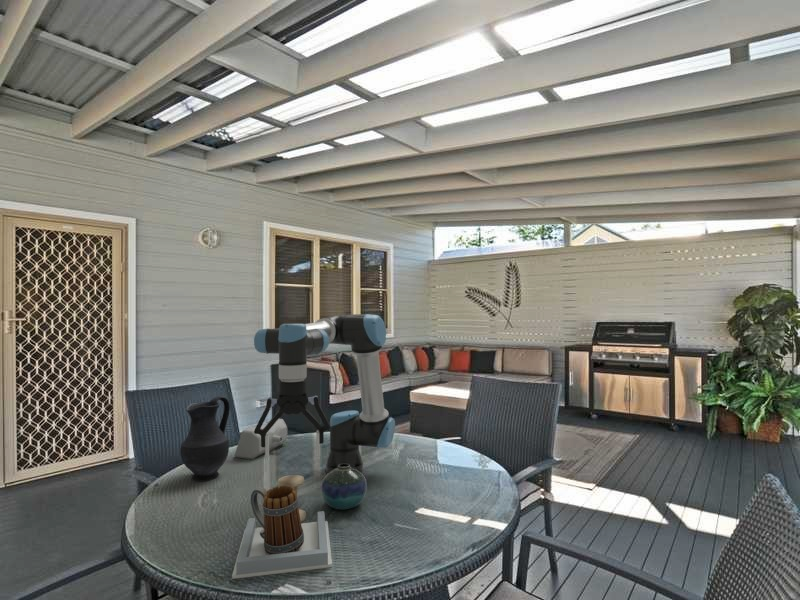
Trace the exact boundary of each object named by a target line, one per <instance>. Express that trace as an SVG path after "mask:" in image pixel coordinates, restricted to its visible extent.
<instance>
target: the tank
mask: <svg viewBox="0 0 800 600" xmlns="http://www.w3.org/2000/svg"><path fill="white" fill-rule="evenodd" d="M270 420H271V419H269V420H266V421H265V423H266V424H262V426H261V428H260V429H264V427H265V426H266V425H267V424H268V423H269V421H270ZM256 426H257V425H253V426H251V427H248V428H245V429H243V430H242V431H241V433H240V437H239V439H238V443H237V446H236V449H235V452H234V458H240V459H247V460H254V459H256V458H258V457H260V456H262V455H265V447H261V435H259V434H255V433H254V430H255V428H256ZM267 433H269V452H271V451H272V450H274V449H277V448H278V447H280V446H283V445H284V443H285V442H286V441H287V439H288V425H287V424H286V422H285V420H284V419H283V418H279V419H278V420H277V421H276V422H275V424H274V425H273V426H272V427H271V428H270V430H269V431H268V432H267ZM267 433H266V434H267Z"/></svg>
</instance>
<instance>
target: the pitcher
mask: <svg viewBox="0 0 800 600" xmlns="http://www.w3.org/2000/svg"><path fill="white" fill-rule="evenodd" d="M219 400H220V401H222V403H223V413H222V418H221V421H220V423H219V424H218V422H217V421H218V420H217V417H216V416H217V412H218V408H219V407H220V405H221V403H220V402H219ZM230 406H231V405H230V401H229V400H228V398H227V397H224V396H220V395H218V396H215V397H213V398H212V399H211V400H210V401H202V402H201V401H200V402H195V403H189V405H188V406H187V407H186V412H187V413H188V416H189V417H190V424H189V430H188V433H187V436H186V438H185V439H184V440H183V441H182V443H181V444H180V457H181V458H180V459H181V461H182V463H183V464H184V466H185V467H186V468H187V469H188V470H189V471H191V472H192V473H193V474H192V476H191V480H192V481H195V482H206V481H212V480H214V479H216V478H218V477H219V475H220V473H219V472H218V471H219V470H220V469H221V467H222V466H223V465H224V464H225V462H226V460H227V459H228V456H229V452H230V451H229V450H230V442H229V438H228V437H227V436H226V434H225V433H226V427H227V425H228V419H229V415H230V411H231V410H230V409H231V407H230Z"/></svg>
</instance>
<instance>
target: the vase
mask: <svg viewBox="0 0 800 600" xmlns="http://www.w3.org/2000/svg"><path fill="white" fill-rule="evenodd" d="M367 491H368V482H367V479H366V477H365V475H364V474H363V473H362V471H361V472H359V471H358V470H356V469H354V468H351V467H350V464H347V463H342V464H339V465H338V468H336V469H334V470H332V471H331V472H329V473H327V474H326V475H325V476H324V477H323V478H322V480H321V484H320V494H321V497H322V500H323V501H324V503H325V504H326V505H328V507H330V508H332V509H335V510H341V511H342V510H344V511H345V510H350V509H354V508H356V507H357V506H359V505H360V504H361V503H362V502H363V501H364V499H365V497H366V494H367Z"/></svg>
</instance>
